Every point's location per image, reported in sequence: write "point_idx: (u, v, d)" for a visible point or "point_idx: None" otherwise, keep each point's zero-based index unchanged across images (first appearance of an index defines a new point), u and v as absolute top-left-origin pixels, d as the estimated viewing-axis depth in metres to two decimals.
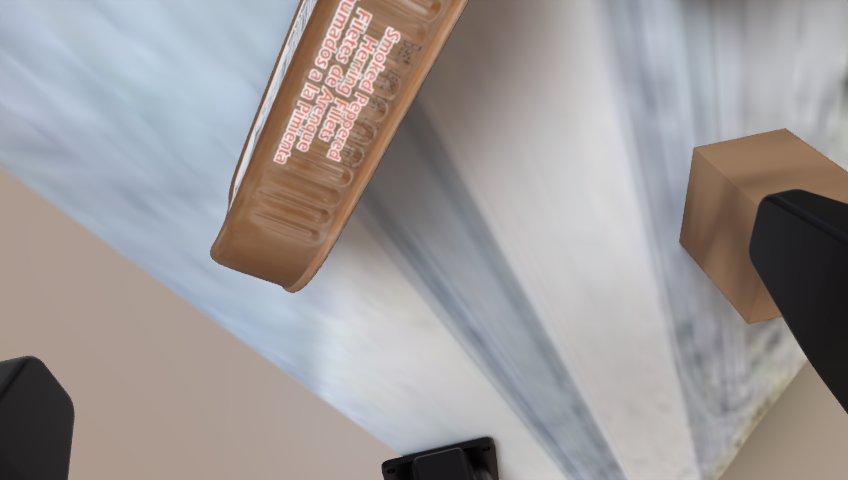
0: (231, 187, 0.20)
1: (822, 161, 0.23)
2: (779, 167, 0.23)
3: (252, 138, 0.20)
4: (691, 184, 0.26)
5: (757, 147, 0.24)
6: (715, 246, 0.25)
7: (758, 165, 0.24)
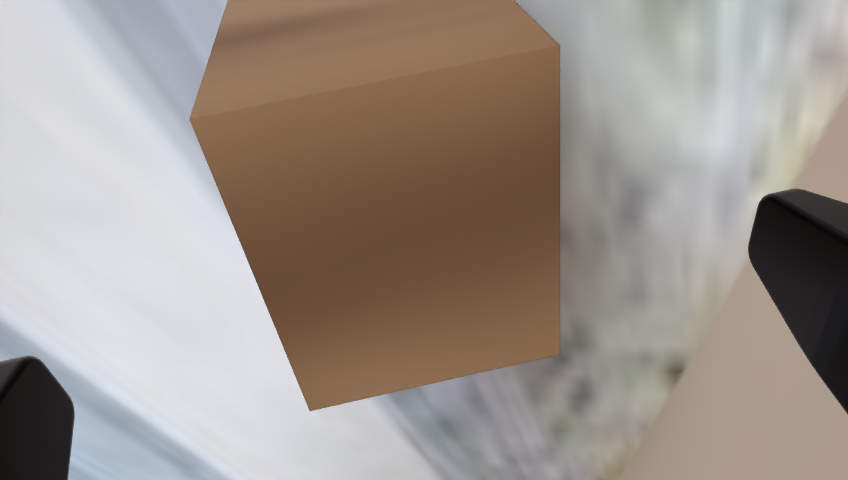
0: None
1: None
2: (362, 1, 0.09)
3: None
4: None
5: None
6: None
7: (321, 2, 0.09)
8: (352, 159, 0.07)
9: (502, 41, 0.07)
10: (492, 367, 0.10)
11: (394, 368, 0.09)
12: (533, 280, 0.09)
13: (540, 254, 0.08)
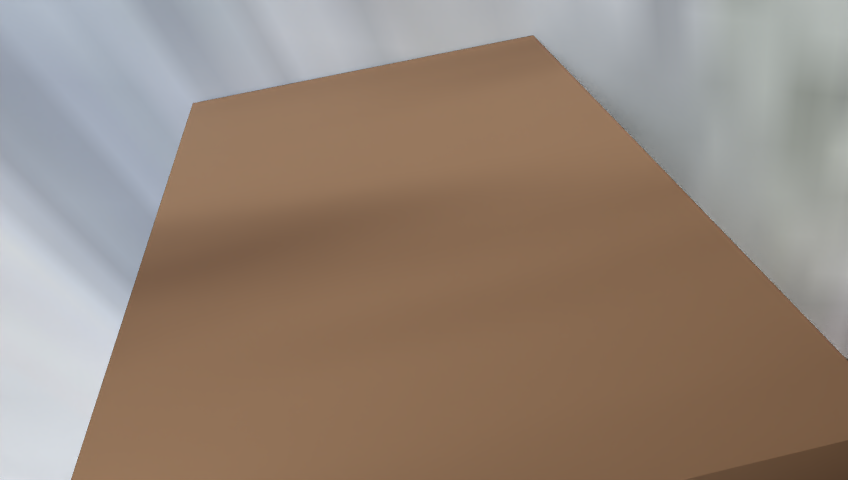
0: None
1: (602, 150, 0.05)
2: (405, 178, 0.05)
3: None
4: None
5: (392, 99, 0.06)
6: None
7: (331, 170, 0.05)
8: None
9: (745, 378, 0.03)
10: None
11: None
12: None
13: None
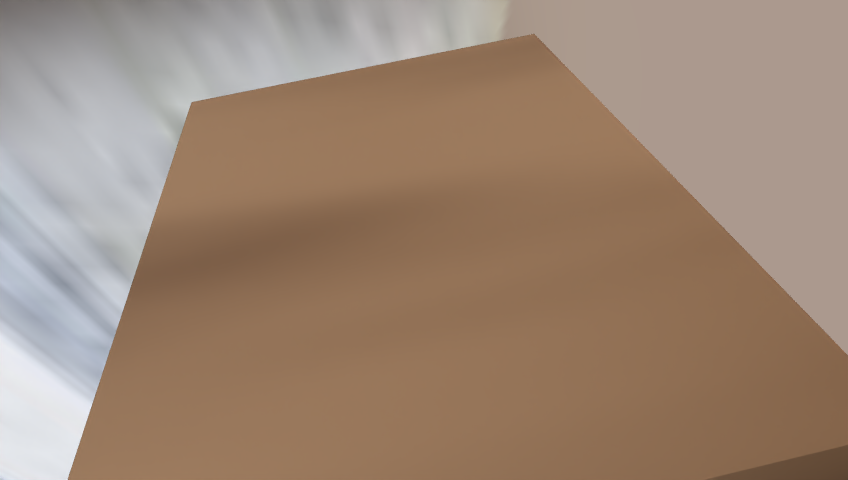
0: None
1: (604, 149, 0.05)
2: (405, 177, 0.05)
3: None
4: None
5: (392, 98, 0.06)
6: None
7: (330, 170, 0.05)
8: None
9: (749, 380, 0.03)
10: None
11: None
12: None
13: None
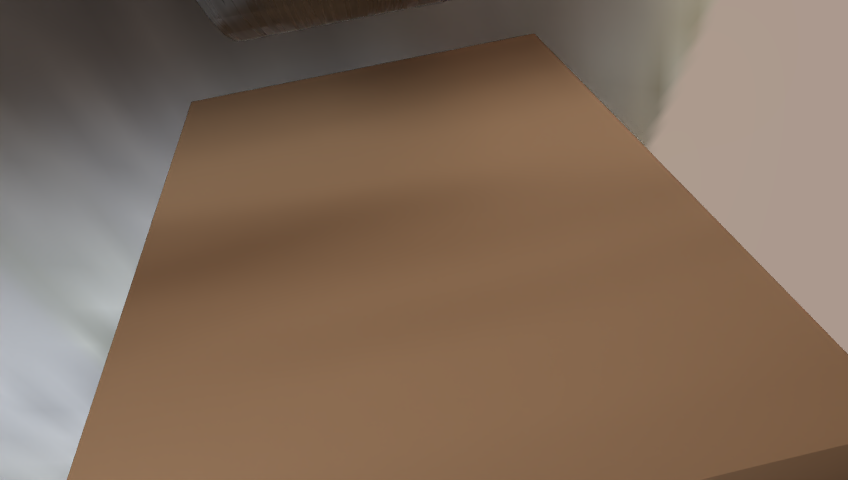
0: None
1: (605, 148, 0.05)
2: (405, 177, 0.05)
3: None
4: None
5: (392, 97, 0.06)
6: None
7: (331, 170, 0.05)
8: None
9: (752, 379, 0.03)
10: None
11: None
12: None
13: None
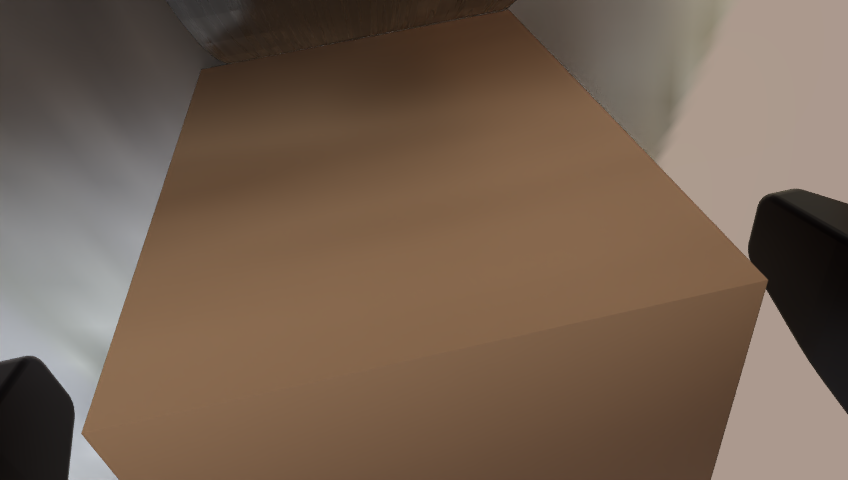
0: None
1: (558, 96, 0.06)
2: (388, 122, 0.06)
3: None
4: None
5: (379, 62, 0.07)
6: None
7: (324, 117, 0.06)
8: (382, 456, 0.04)
9: (649, 255, 0.04)
10: None
11: None
12: None
13: None
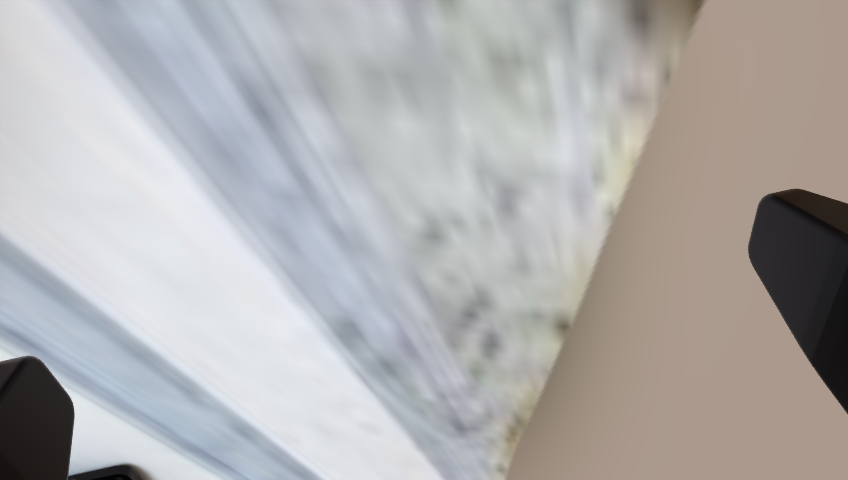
0: None
1: None
2: None
3: None
4: None
5: None
6: None
7: None
8: None
9: None
10: None
11: None
12: None
13: None
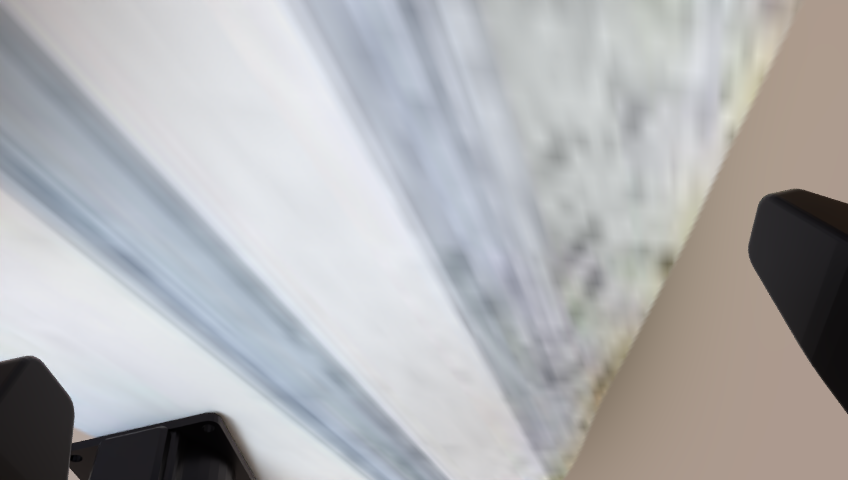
0: None
1: None
2: None
3: None
4: None
5: None
6: None
7: None
8: None
9: None
10: None
11: None
12: None
13: None
